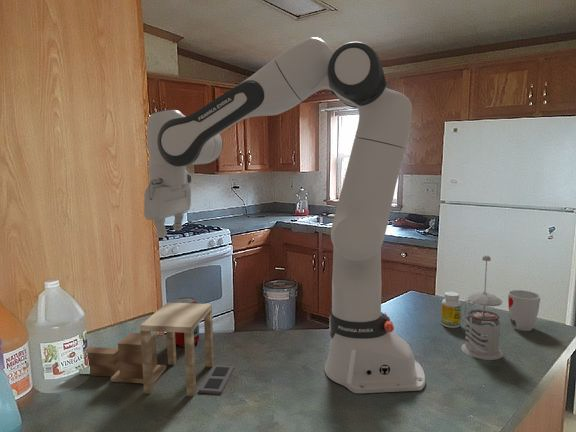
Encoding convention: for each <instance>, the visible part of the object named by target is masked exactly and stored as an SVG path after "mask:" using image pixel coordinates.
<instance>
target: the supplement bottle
mask: <svg viewBox="0 0 576 432" xmlns="http://www.w3.org/2000/svg"><path fill="white" fill-rule="evenodd" d="M443 296H444V299H442V301H441V314H440V315H441V317H440V318H441V320H440V323H441V325H442V326H443V327H446V328H451V329H455V328H456V329H457V328H459V327H460V326H461V321H462V320H461V317H462V315H461V316H460V307H461V305H462V302H461V301H460V293H458V292H455V291H446V292H444V295H443ZM461 308H462V307H461Z"/></svg>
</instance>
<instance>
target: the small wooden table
mask: <svg viewBox="0 0 576 432" xmlns="http://www.w3.org/2000/svg"><path fill="white" fill-rule="evenodd" d="M212 306H213V304H212V303H175V302H167V303H165V304H163V306H162V307H161V308H159V309H158V310H156V311H155V312H154V313H153V314H152V315H151V316H149V317H148V318H147V319H146V320H144V321H143V322H142V323H141V324H140V325H139V328H140V329H139V330H140V332H139V333H141V349H142V366H143V382H144V383H143V393H144V394H150V395H151V394H152V393H153V391H154V390H155V382H153V364H152V346H151V334H152V332H163V333H164V332H165V333H166V347H167V350H166V351H167V365H168V366H175V365H176V363H177V349H176V348H177V347H176V345H177V344H176V343H175V332H183V333H184V341H185V347H184V359H185V360H184V361H185V383H186V396H187V397H195V395H196V393H197V380H196V379H197V378H196V355H195V354H196V353H195V352H196V351H195V344H194V329H195V328H196V327H197V326H198V324H199V325H200V323H201V322H202V321H203V322H204V324H203V325H204V326H203V327H204V328H203V329H204V351H205V352H204V353H205V367H206V368H212V367H213V366H214V365H215V357H214V332H213V331H214V329H213V307H212Z"/></svg>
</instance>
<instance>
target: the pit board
mask: <svg viewBox="0 0 576 432" xmlns="http://www.w3.org/2000/svg"><path fill="white" fill-rule="evenodd" d="M234 370H235V366H234V365H222V364H221V365H220V364H214V365H213V366H212V367H211V369H210V370H209V372H208V374H207V375H206V377H205V379H204V381H203V382H202V383H201V385H200V387H199V388H198V394H216V395H223V394H222V393H223V391H224V389H225V388H226V386H227V384H228V382H229V380H230V378H231V377H232V374H233V372H234Z"/></svg>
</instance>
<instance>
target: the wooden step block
mask: <svg viewBox="0 0 576 432" xmlns="http://www.w3.org/2000/svg"><path fill="white" fill-rule="evenodd" d="M156 339H157V338H156V333H151V346H152V364H153V382H154V383H156V382H157V381H158V379H159V378H160V377H161V376H162V374H163V373H164V372H165V371H166V370H167V365H165V364H158V358H157V340H156ZM87 347H88V352H87V353H88V359H89V366H90V374H91V375H90V376H99V377H110V382H113V383H114V382H116V383H130V384H131V383H132V384H144V382H143V366H142V349H141V332H130V333H129V334H128V335H127V336H125V337H124V338H123V339H122V340H120V341H119V342H118V343H117V347H116V348H115V347H99V346H98V347H96V346H87Z"/></svg>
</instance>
